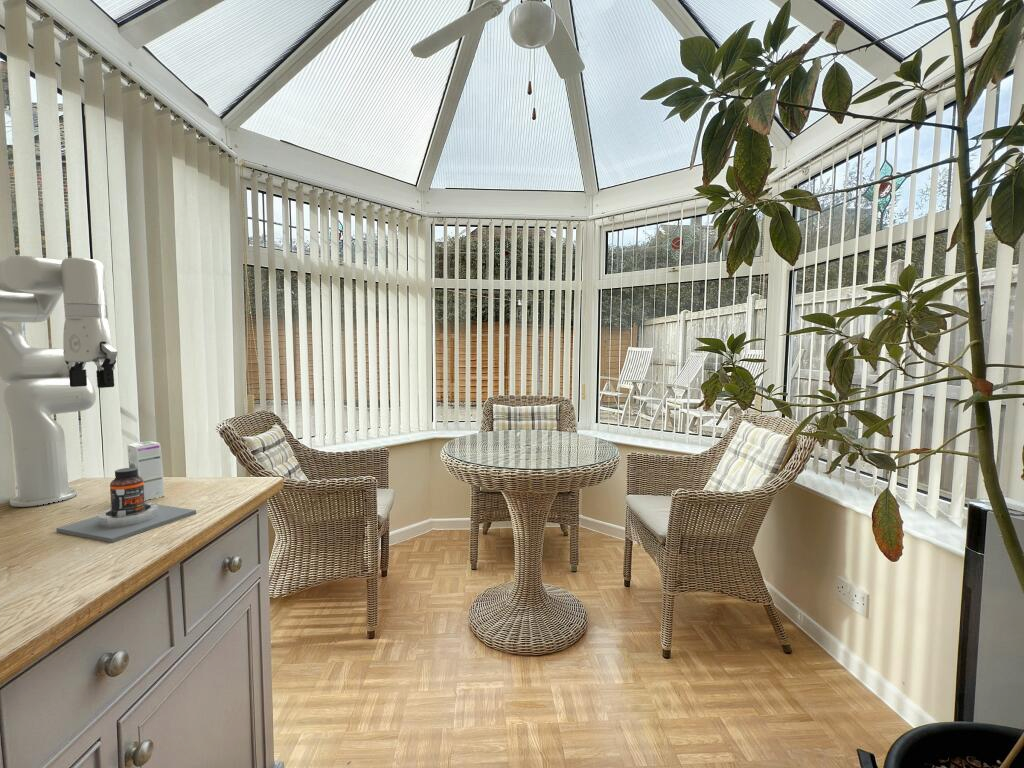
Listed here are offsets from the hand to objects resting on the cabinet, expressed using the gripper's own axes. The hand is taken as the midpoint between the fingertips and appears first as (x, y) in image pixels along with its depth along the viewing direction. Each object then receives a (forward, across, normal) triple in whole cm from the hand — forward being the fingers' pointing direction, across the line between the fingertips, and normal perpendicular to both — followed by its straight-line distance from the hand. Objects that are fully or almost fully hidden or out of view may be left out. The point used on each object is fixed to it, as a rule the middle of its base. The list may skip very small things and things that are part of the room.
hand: (92, 386), depth 114 cm
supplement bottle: (+30, +13, -2) cm, 32 cm away
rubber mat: (+30, +13, -2) cm, 33 cm away
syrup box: (+31, -2, +12) cm, 33 cm away
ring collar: (+30, +13, -2) cm, 33 cm away
